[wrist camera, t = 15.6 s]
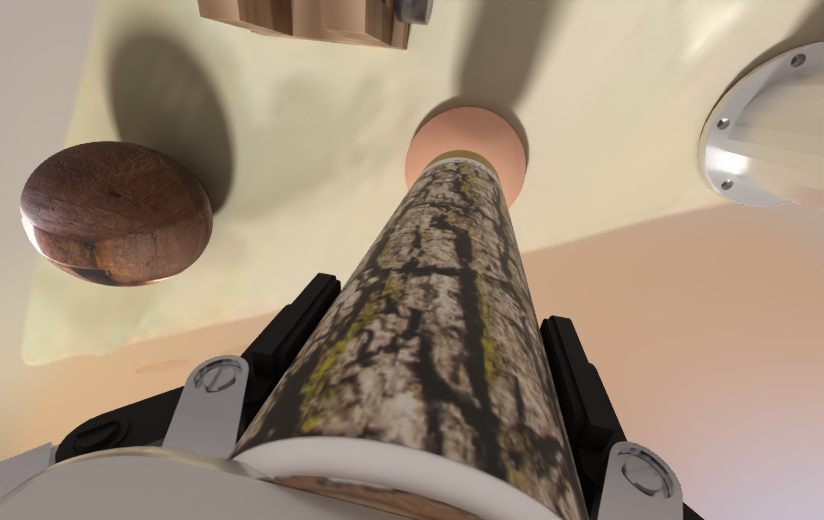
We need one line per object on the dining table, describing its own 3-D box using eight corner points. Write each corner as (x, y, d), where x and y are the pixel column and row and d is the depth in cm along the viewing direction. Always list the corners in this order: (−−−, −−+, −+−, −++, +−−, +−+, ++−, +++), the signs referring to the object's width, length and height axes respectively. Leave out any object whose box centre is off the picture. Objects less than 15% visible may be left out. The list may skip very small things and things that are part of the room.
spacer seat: (539, 114, 30) (541, 115, 29) (508, 232, 36) (509, 236, 35) (412, 99, 31) (411, 99, 31) (402, 215, 37) (400, 219, 36)
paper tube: (437, 134, 25) (194, 397, 4) (516, 168, 26) (750, 625, 4) (407, 209, 29) (187, 587, 7) (477, 240, 29) (480, 704, 7)
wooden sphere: (110, 131, 39) (-76, 152, 26) (222, 134, 36) (80, 159, 23) (155, 245, 46) (27, 306, 33) (252, 254, 43) (155, 324, 30)
